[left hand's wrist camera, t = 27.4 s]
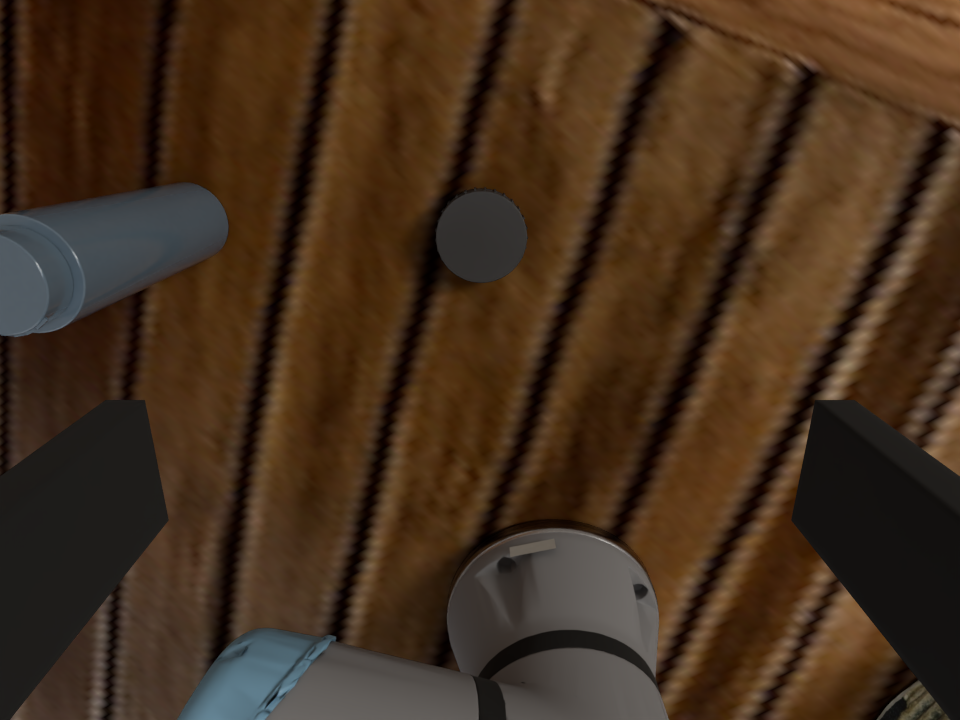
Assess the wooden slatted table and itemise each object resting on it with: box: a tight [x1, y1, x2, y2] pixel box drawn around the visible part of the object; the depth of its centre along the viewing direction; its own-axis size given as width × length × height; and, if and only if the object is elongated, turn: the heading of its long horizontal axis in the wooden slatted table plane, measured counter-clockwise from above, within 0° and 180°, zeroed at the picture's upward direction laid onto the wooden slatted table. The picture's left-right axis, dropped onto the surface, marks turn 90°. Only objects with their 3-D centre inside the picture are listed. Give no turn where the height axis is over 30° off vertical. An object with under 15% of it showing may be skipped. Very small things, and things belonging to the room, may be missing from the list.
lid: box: [435, 187, 528, 283], centre depth 37 cm, size 5×5×2 cm
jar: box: [0, 182, 228, 337], centre depth 30 cm, size 5×5×16 cm
